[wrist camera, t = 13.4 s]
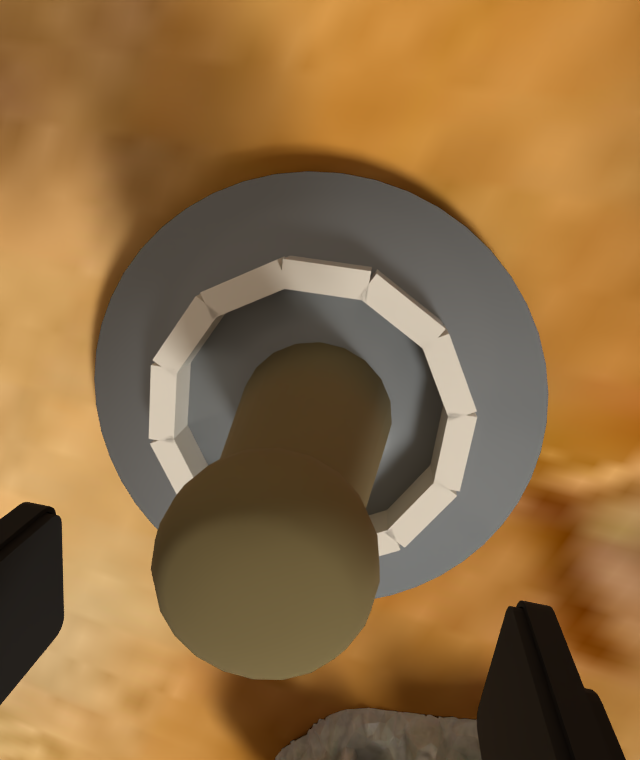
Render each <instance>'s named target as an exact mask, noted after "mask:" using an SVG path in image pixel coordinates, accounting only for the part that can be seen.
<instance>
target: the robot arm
mask: <svg viewBox="0 0 640 760" xmlns="http://www.w3.org/2000/svg"><path fill="white" fill-rule="evenodd" d="M63 620H64V599H63V559H62V522H61V518H60V516H58V515H56V512H55V510H54V508H52V507H50V506H45V505H40V504H35V503H30V502H24V503H22V504H20V505H19V506H17V507H16V508H15V509H13V510H12V511H11V512H9V513H8V514H7V515H5V516H4V517H3V518H1V519H0V705H1V704H2V702H3V701H4V700H5V699H6V697H7V696H8V695H9V694H10V693H11V691H12V690H13V689H14V688H15V686H16V685H17V684H18V683H19V682H20V680H21V679H22V678H23V677H24V675H25V674H26V673H27V672H28V671H29V669H30V668H31V667H32V666H33V665H34V663H35V662H36V661H37V660H38V658H39V657H40V656H41V655H42V654H43V652H44V651H45V650H46V649H47V647H48V646H49V645H50V644H51V643H52V641H53V640H54V639H55V638H56V636H57V635H58V633H59V631H60V630H61V627H62V624H63ZM477 733H478V739H479V746H480V752H481V759H482V760H626V759H625V757H624V754H623V752H622V749H621V747H620V745H619V742H618V740H617V737H616V735H615V733H614V730H613V728H612V726H611V723H610V721H609V718H608V716H607V714H606V711H605V709H604V706H603V704H602V702H601V700H600V698H599V696H598V695H597V694H596V693H595V692H594V691H593V690H591V689H586V688H584V686H583V684H582V681H581V679H580V676H579V673H578V671H577V668H576V666H575V663H574V661H573V658H572V656H571V653H570V651H569V648H568V646H567V643H566V641H565V638H564V635H563V633H562V630H561V628H560V625H559V623H558V620H557V618H556V615H555V613H554V611H553V609H552V607H550V606H547V605H542V604H537V603H532V602H527V601H519V603H518V604H517V606H516V607H512V606H509V607H508V608H507V610H506V613H505V617H504V620H503V624H502V627H501V631H500V634H499V638H498V641H497V645H496V648H495V651H494V655H493V658H492V662H491V665H490V669H489V672H488V676H487V679H486V683H485V686H484V690H483V693H482V697H481V700H480V704H479V707H478V712H477Z"/></svg>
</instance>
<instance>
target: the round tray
mask: <svg viewBox="0 0 640 760" xmlns="http://www.w3.org/2000/svg"><path fill="white" fill-rule="evenodd" d="M315 342H322V343H326V344H330V345H334V346H338V347H342V348H345V349H347V350H348V351H350V352H352V353H353V354H355V355H357V356H358V357H360V358H361V359H363V360H365V361H366V362H367V363H368V364H369V366H370V367H371V368H372V369H373V370H374V371H375V372H376V374H377V375H378V376H379V377H380V378H381V379H382V382H383V384H384V387H385V389H386V392H387V394H388V396H389V399H390V402H391V419H392V425H391V428H390V432H389V435H388V439H387V442H386V445H385V449H384V452H383V455H382V458H381V461H380V465H379V468H378V471H377V474H376V478H375V481H374V484H373V487H372V490H371V494H370V497H369V500H368V503H367V506H366V510H367V513H368V515H369V517H370V519H371V521H372V524H373V526H374V528H375V531H376V533H377V536H378V550H379V564H380V583H379V586H378V589H377V593H376V596H375V598H380V597H385V596H390V595H393V594H396V593H399V592H402V591H405V590H408V589H411V588H414V587H417V586H419V585H421V584H423V583H426V582H428V581H430V580H432V579H434V578H436V577H438V576H440V575H442V574H444V573H445V572H447V571H448V570H450V569H452V568H453V567H455V566H456V565H458V564H460V563H461V562H463V561H464V560H465V559H466V558H468V557H469V556H470V555H471V554H473V553H474V552H475V551H476V550H477V549H479V548H480V547H481V546H482V545H484V543H485V542H486V541H487V540H488V539H489V538H490V537H491V536H492V535H493V534H494V533H495V532H496V531H497V530H498V529H499V528H500V527H501V525H502V524H503V523H504V521H505V520H506V519H507V517H508V516H509V515H510V513H511V512H512V510H513V509H514V508H515V506H516V505H517V503H518V502H519V500H520V498H521V496H522V494H523V492H524V490H525V488H526V487H527V485H528V483H529V481H530V479H531V477H532V474H533V471H534V468H535V466H536V463H537V460H538V457H539V455H540V452H541V447H542V442H543V438H544V433H545V428H546V423H547V406H548V385H547V374H546V363H545V359H544V355H543V350H542V346H541V342H540V338H539V333H538V331H537V328H536V326H535V323H534V321H533V318H532V316H531V313H530V311H529V308H528V306H527V303H526V302H525V300H524V298H523V296H522V295H521V293H520V291H519V290H518V288H517V286H516V284H515V283H514V281H513V279H512V277H511V276H510V274H509V273H508V272H507V271H506V269H505V268H504V267H503V266H502V264H501V263H500V262H499V260H498V259H497V258H496V257H495V255H494V254H493V253H492V252H491V250H490V249H489V248H488V247H487V246H486V245H484V244H483V243H482V242H481V241H480V240H479V239H478V238H477V237H476V236H475V235H474V234H473V233H472V232H471V231H470V230H469V229H468V228H467V227H465V226H464V225H463V224H461V223H460V222H458V221H457V220H456V219H454V218H453V217H451V216H450V215H449V214H447V213H446V212H444V211H443V210H442V209H440V208H439V207H437V206H435V205H433V204H431V203H429V202H427V201H426V200H424V199H422V198H420V197H418V196H416V195H414V194H412V193H410V192H408V191H405V190H403V189H400V188H397V187H394V186H391V185H388V184H386V183H383V182H380V181H377V180H373V179H368V178H363V177H358V176H353V175H348V174H343V173H328V172H311V171H307V172H295V173H283V174H274V175H270V176H265V177H261V178H256V179H252V180H248V181H243V182H241V183H238V184H236V185H233V186H231V187H228V188H225V189H223V190H220V191H218V192H215V193H213V194H211V195H209V196H207V197H206V198H204V199H202V200H200V201H199V202H197V203H195V204H193V205H192V206H190V207H188V208H186V209H185V210H184V211H182V212H181V213H180V214H178V215H177V216H176V217H175V218H173V219H172V220H171V221H169V222H168V223H167V224H166V225H164V226H163V227H162V228H161V229H160V230H159V231H158V232H157V233H156V234H155V235H154V236H153V237H152V238H151V239H150V240H149V241H148V242H147V243H146V244H145V245H144V246H143V247H142V248H141V250H140V251H139V253H138V254H137V255H136V257H135V258H134V260H133V261H132V262H131V264H130V265H129V266H128V268H127V269H126V271H125V272H124V274H123V276H122V278H121V280H120V282H119V283H118V285H117V287H116V289H115V291H114V293H113V295H112V297H111V299H110V302H109V305H108V308H107V311H106V314H105V316H104V319H103V322H102V325H101V330H100V335H99V340H98V345H97V350H96V363H95V393H96V406H97V411H98V416H99V421H100V426H101V431H102V435H103V438H104V441H105V443H106V446H107V449H108V452H109V455H110V458H111V460H112V462H113V464H114V466H115V469H116V471H117V473H118V475H119V477H120V479H121V481H122V483H123V484H124V486H125V487H126V489H127V491H128V492H129V494H130V495H131V497H132V499H133V500H134V502H135V503H136V505H137V506H138V507H139V508H140V509H141V511H142V512H143V513H144V514H145V516H146V517H147V518H148V519H149V521H150V522H151V523H152V524H153V525H154V526H155V527H156V528H157V529H158V528H159V524H160V522H161V520H162V519H163V517H164V515H165V513H166V512H167V510H168V508H169V506H170V505H171V503H172V501H173V499H174V498H175V496H176V495H177V494H178V492H179V491H180V490H181V489H182V487H183V486H184V485H185V484H186V483H187V482H189V481H190V480H191V479H192V478H193V477H195V476H196V475H197V474H198V473H200V472H201V471H202V470H203V469H204V468H206V467H207V466H208V465H210V464H212V463H213V462H215V461H217V460H219V459H220V457H221V454H222V451H223V448H224V446H225V443H226V440H227V437H228V434H229V431H230V428H231V426H232V423H233V420H234V417H235V414H236V411H237V408H238V406H239V403H240V400H241V397H242V394H243V391H244V388H245V386H246V384H247V383H248V381H249V379H250V377H251V376H252V374H253V372H254V371H255V369H256V367H258V366H259V365H260V364H261V363H262V362H263V361H264V360H266V359H267V358H268V357H269V356H270V355H271V354H273V353H274V352H277V351H279V350H281V349H284V348H286V347H289V346H291V345H294V344H300V343H315Z"/></svg>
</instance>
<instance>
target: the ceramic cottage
mask: <svg viewBox="0 0 640 760" xmlns="http://www.w3.org/2000/svg"><path fill="white" fill-rule="evenodd" d="M290 743H291V744H290V745H288V746H286V747H285V749H284V748H282V750H281V751H280V752H279V754H278V755H277V756H276V758H275V760H482V759H481V752H480V746H479V739H478V733H477V720H473V719H458V718H456V717H445V718H442V717H440V716H439V718H436V717H434V716H432V715H427V716H425V715H420V714H416V713H408V712H403V713H402V712H397V711H386V710H380V709H373V708H360V709H346V710H343V711H339V712H337V713H334V714H331V715H329V716H327V717H326V719H325V720H324V719H319V721H318V723H317V724H313V727H312V729H309V730H308V733H307V735H305V736H303V737H301V738H299V739H297V740H296V741H294V740H293V741H291V742H290Z"/></svg>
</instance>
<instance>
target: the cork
mask: <svg viewBox="0 0 640 760" xmlns="http://www.w3.org/2000/svg"><path fill="white" fill-rule="evenodd" d="M391 425H392V419H391V402H390V399H389V396H388V394H387V392H386V389H385V387H384V384H383V382H382V379H381V378H380V377H379V376H378V375H377V374H376V372H375V371H374V370H373V369H372V368H371V367H370V366H369V364H368V363H367V362H366V361H365V360H363V359H361V358H360V357H358V356H357V355H355V354H353V353H352V352H350V351H348V350H347V349H345V348H342V347H338V346H334V345H330V344H326V343H322V342H315V343H300V344H294V345H291V346H289V347H286V348H284V349H281V350H279V351H277V352H274V353H273V354H271V355H270V356H269V357H268V358H267V359H266V360H264V361H263V362H262V363H261V364H260V365H259V366H258V367H256V369H255V371H254V372H253V374H252V376H251V377H250V379H249V381H248V383H247V384H246V386H245V388H244V391H243V394H242V397H241V400H240V403H239V406H238V408H237V411H236V414H235V417H234V420H233V423H232V426H231V428H230V431H229V434H228V437H227V440H226V443H225V446H224V448H223V451H222V454H221V457H220V459H219V460H217V461H215V462H213V463H212V464H210V465H208V466H207V467H206V468H204V469H203V470H202V471H201V472H200V473H198V474H197V475H196V476H195V477H193V478H192V479H191V480H190V481H189V482H187V483H186V484H185V485H184V486H183V487H182V489H181V490H180V491H179V492H178V494H177V495H176V496H175V498H174V499H173V501H172V503H171V505H170V506H169V508H168V510H167V512H166V513H165V515H164V517H163V519H162V520H161V522H160V524H159V528H158V531H157V535H156V539H155V545H154V551H153V558H152V565H151V571H152V576H153V581H154V585H155V590H156V594H157V599H158V603H159V608H160V612H161V613H162V615H163V617H164V618H165V620H166V622H167V623H168V625H169V627H170V629H171V630H172V632H173V634H174V635H175V636H176V637H177V638H178V639H179V640H180V641H181V642H182V643H183V644H184V645H185V646H186V647H187V648H188V649H189V650H190V651H191V652H192V653H193V654H194V655H196V656H197V657H199V658H200V659H202V660H204V661H206V662H208V663H209V664H211V665H213V666H215V667H217V668H218V669H220V670H222V671H224V672H228V673H232V674H235V675H239V676H243V677H246V678H250V679H267V680H284V679H288V678H292V677H296V676H300V675H304V674H308V673H312V672H313V671H315V670H317V669H318V668H320V667H321V666H323V665H325V664H326V663H328V662H330V661H331V660H333V659H335V658H336V657H337V656H338V655H339V654H341V653H342V652H343V651H344V650H345V649H346V648H347V647H348V646H349V645H350V644H351V642H352V641H353V640H354V639H355V637H356V636H357V635H358V634H359V632H360V631H361V630H362V629H363V627H364V626H365V624H366V621H367V619H368V616H369V614H370V611H371V608H372V605H373V602H374V599H375V596H376V593H377V589H378V586H379V583H380V564H379V550H378V536H377V533H376V531H375V528H374V526H373V524H372V521H371V519H370V517H369V515H368V513H367V510H366V506H367V503H368V500H369V497H370V494H371V490H372V487H373V484H374V481H375V478H376V474H377V471H378V468H379V465H380V461H381V458H382V455H383V452H384V449H385V445H386V442H387V439H388V435H389V432H390V428H391Z"/></svg>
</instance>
